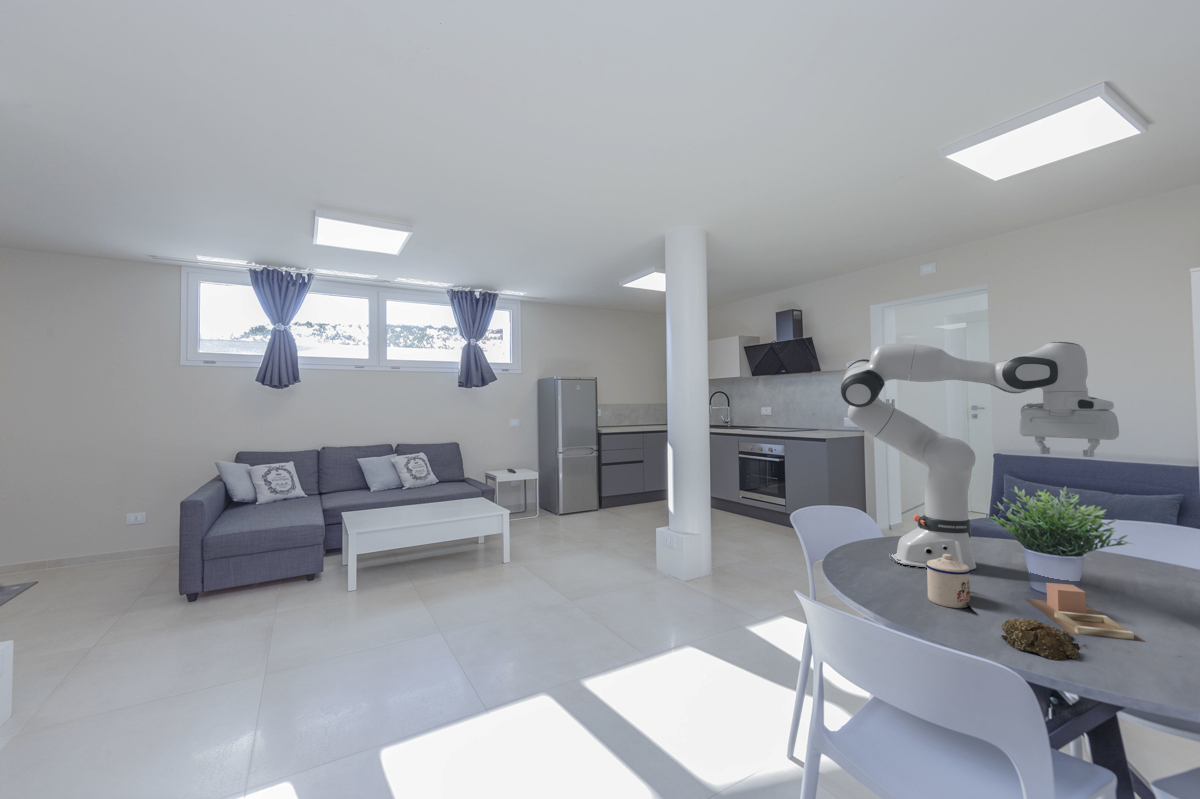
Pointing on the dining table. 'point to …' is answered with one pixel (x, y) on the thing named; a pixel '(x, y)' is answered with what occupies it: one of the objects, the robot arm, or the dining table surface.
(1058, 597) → the terracotta cube
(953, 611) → the dining table surface
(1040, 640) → the bread roll
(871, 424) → the robot arm
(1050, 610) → the assembly board
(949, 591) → the teacup with lid
